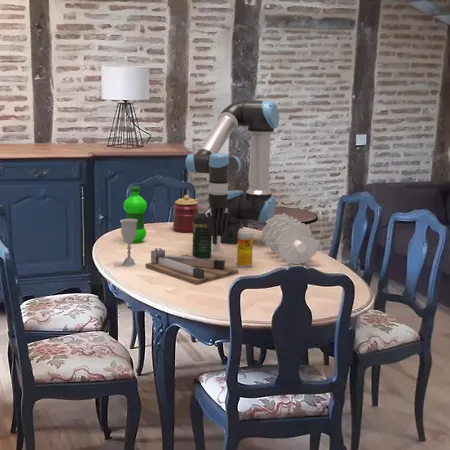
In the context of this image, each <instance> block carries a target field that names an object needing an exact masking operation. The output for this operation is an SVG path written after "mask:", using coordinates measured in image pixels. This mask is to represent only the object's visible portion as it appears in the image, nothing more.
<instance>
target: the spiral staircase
mask: <svg viewBox="0 0 450 450" xmlns="http://www.w3.org/2000/svg"><path fill="white" fill-rule="evenodd" d="M265 223H266V225H265V226H264V227H263V229H262V230H261V232H262V233H263V238H262V243H264V245H265V248H269V249H270V252H271V253H274V254H276V255H277V256H278V257H279V259H282V260H284V261H285V262H286V263H287V264H288V265H289V264H295V265H299V266H300V265H301V264H303V263H308V262H310V261H311V259H312V258H313V257H314V256H315V255H316V254H317V253H318V249H319V244H320V243H321V241H320V240H316V239H315V238H312V237H310V236H311V235H312V230H311V228H310V225H306V224H305V223H302V222H301V221H299V220H298V218H295V219H294V217H293V216H289V215H288V214H287V213H285V212H284V213H282V214H273V217H272V218H271V219H270V220H268V221H266V222H265Z"/></svg>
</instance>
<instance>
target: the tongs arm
mask: <svg viewBox="0 0 450 450" xmlns="http://www.w3.org/2000/svg"><path fill="white" fill-rule="evenodd" d="M165 258H167V259H170V260H173V261H176V262H180V263H183V264H186V265H189V266H197V267H207V268H218V269H224V268H225V266H226V262H225V259H214V258H207V259H205V258H195V257H184V256H182V255H172V254H171V255H170V254H165Z"/></svg>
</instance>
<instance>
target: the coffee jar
mask: <svg viewBox="0 0 450 450" xmlns="http://www.w3.org/2000/svg"><path fill="white" fill-rule="evenodd" d="M191 250H192V255H191V256H194V257H197V258H205V259H211V257H212V235H209V234H208V229H207V222H206V217H205V215H204V212H201V213H200V212H199V213H197V214H196V215H194V216H193V232H192V249H191Z"/></svg>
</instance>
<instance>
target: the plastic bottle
mask: <svg viewBox="0 0 450 450" xmlns="http://www.w3.org/2000/svg"><path fill="white" fill-rule="evenodd" d="M129 188H130V191H129V192H131V195H129V197H127V198H126V199H125V200H124V201H123V205H122V206H123V207H122V208H123V211H125V213H126V218H125V219H136V220H138V221H137V223H136V235H135V238H134V240H133V242H132V243H133V244H138V243H141V242H142V241H143V240H144V239H145V238H146V235H147V231H146V228H145V212H146V211H147V207H148V203H147V201H146V200H145V199H144V198H143V197H142V196H140V192H141V187H140V186H130V187H129ZM132 243H131V244H132Z"/></svg>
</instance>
